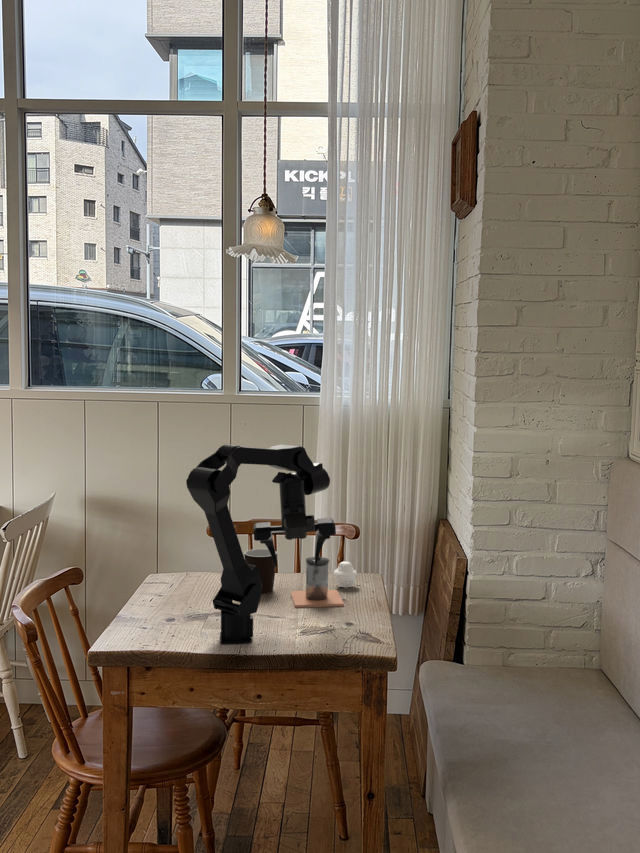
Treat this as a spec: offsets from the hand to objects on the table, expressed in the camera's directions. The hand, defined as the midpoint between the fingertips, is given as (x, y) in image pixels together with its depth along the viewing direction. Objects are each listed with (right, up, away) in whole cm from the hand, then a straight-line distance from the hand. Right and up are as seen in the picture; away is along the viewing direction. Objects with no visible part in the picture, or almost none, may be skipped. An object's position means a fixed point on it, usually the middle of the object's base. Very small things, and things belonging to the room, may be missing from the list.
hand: (296, 564), depth 193 cm
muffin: (+12, -11, +28) cm, 32 cm away
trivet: (+5, -11, +16) cm, 20 cm away
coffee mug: (-10, -11, +25) cm, 29 cm away
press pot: (+5, -11, +16) cm, 20 cm away
